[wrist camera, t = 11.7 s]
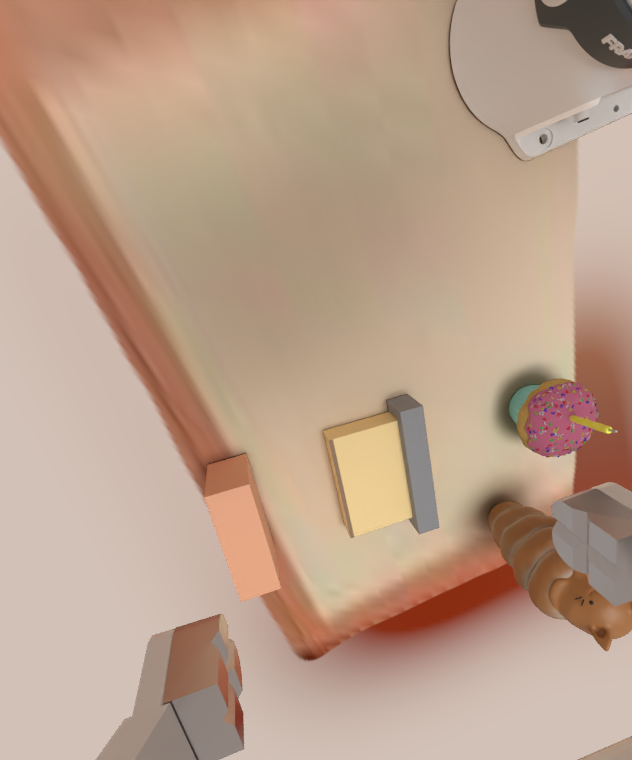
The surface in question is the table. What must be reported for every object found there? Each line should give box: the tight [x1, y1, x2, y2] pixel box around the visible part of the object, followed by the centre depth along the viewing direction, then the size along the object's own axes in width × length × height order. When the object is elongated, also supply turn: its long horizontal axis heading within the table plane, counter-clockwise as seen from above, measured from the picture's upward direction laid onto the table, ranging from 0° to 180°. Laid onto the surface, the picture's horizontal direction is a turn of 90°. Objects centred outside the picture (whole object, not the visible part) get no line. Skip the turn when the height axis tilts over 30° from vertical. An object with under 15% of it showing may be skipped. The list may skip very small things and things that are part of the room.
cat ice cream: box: [488, 501, 632, 651], centre depth 42 cm, size 9×8×18 cm
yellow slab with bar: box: [324, 394, 439, 538], centre depth 43 cm, size 10×15×4 cm
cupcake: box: [509, 379, 617, 457], centre depth 41 cm, size 9×8×12 cm
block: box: [204, 454, 281, 602], centre depth 40 cm, size 4×12×6 cm, turn 12°
